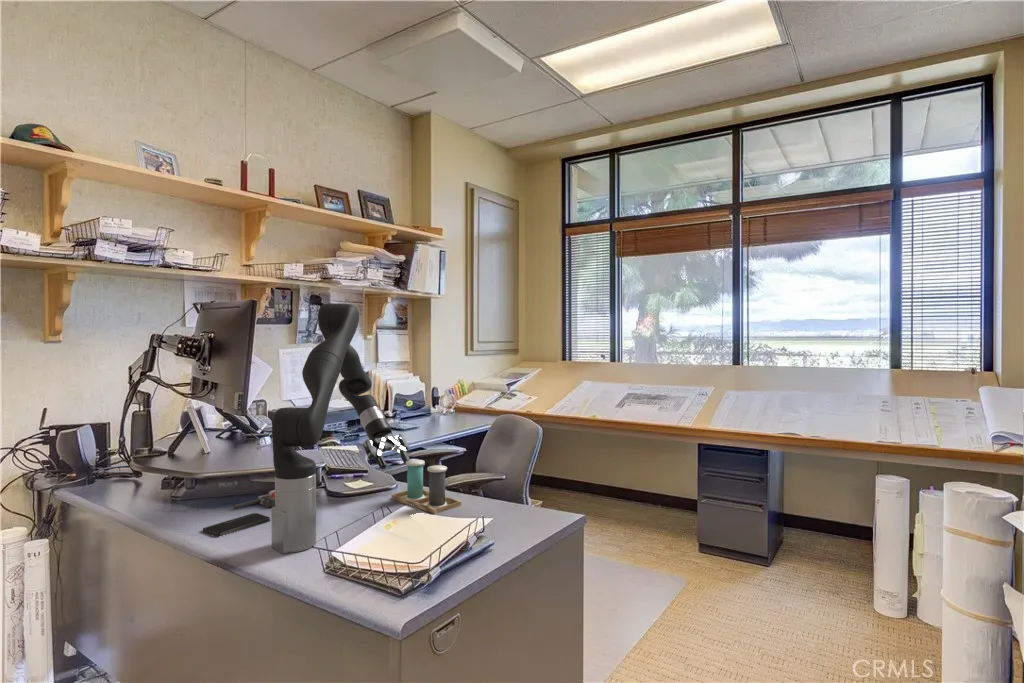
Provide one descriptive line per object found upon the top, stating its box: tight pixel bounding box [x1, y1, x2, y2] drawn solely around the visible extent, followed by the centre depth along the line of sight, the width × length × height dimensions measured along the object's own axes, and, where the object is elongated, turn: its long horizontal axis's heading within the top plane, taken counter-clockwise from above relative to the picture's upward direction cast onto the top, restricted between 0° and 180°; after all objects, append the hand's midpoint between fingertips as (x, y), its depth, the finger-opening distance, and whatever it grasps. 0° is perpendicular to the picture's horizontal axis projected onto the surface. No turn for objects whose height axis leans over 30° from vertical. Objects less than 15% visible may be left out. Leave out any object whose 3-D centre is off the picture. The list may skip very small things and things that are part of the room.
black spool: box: [426, 464, 448, 509], centre depth 162 cm, size 6×6×11 cm
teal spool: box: [406, 459, 426, 501], centre depth 169 cm, size 6×6×11 cm
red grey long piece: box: [233, 489, 275, 509], centre depth 168 cm, size 9×4×20 cm
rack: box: [390, 488, 463, 515], centre depth 166 cm, size 20×10×3 cm, turn 48°
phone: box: [202, 512, 271, 538], centre depth 149 cm, size 8×1×15 cm
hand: (396, 465), depth 175 cm, fingers open, 8 cm apart
